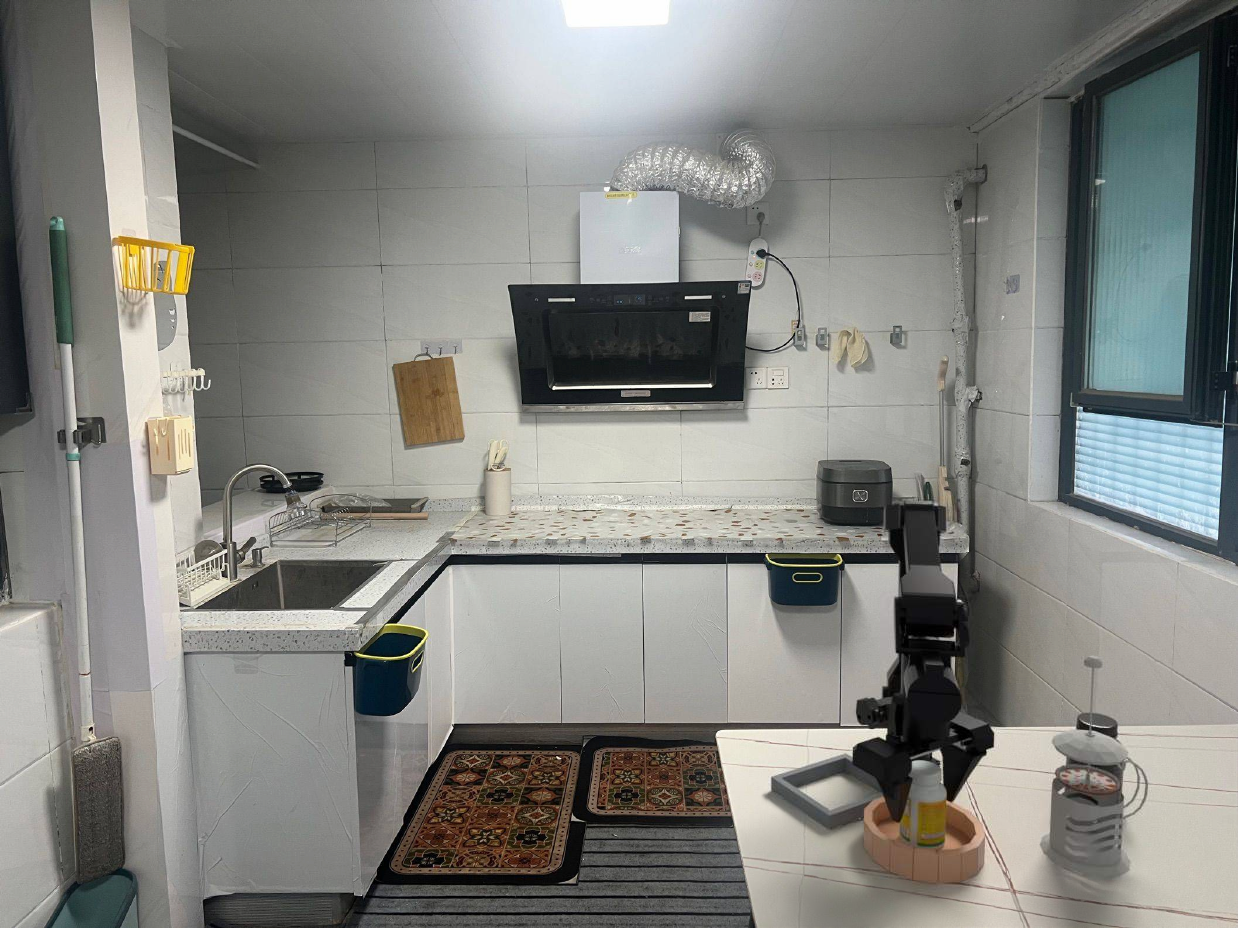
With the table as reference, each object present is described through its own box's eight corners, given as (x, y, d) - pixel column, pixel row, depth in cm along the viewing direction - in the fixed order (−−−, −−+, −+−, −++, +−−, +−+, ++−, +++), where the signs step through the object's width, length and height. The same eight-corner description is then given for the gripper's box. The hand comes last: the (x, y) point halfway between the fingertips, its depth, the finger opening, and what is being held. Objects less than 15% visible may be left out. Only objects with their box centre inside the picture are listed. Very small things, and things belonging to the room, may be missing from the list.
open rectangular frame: (845, 765, 128) (845, 753, 127) (907, 801, 117) (907, 787, 117) (771, 789, 121) (771, 776, 121) (829, 829, 111) (829, 815, 110)
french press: (1025, 830, 109) (1032, 642, 106) (1117, 830, 109) (1127, 641, 106) (1063, 877, 100) (1072, 671, 96) (1164, 876, 99) (1176, 670, 96)
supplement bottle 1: (892, 841, 106) (893, 768, 105) (910, 823, 110) (911, 753, 108) (934, 858, 102) (936, 782, 101) (952, 838, 106) (954, 766, 105)
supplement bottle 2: (1057, 804, 115) (1061, 720, 114) (1072, 785, 120) (1075, 704, 119) (1114, 822, 111) (1119, 734, 109) (1127, 801, 116) (1131, 717, 114)
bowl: (918, 807, 115) (919, 783, 115) (1008, 860, 103) (1009, 833, 103) (840, 837, 109) (840, 811, 108) (926, 896, 96) (927, 867, 96)
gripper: (927, 655, 115) (925, 765, 117) (821, 683, 106) (820, 801, 108) (999, 682, 105) (995, 801, 107) (888, 715, 96) (886, 844, 98)
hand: (923, 810), depth 105 cm, fingers open, 9 cm apart
